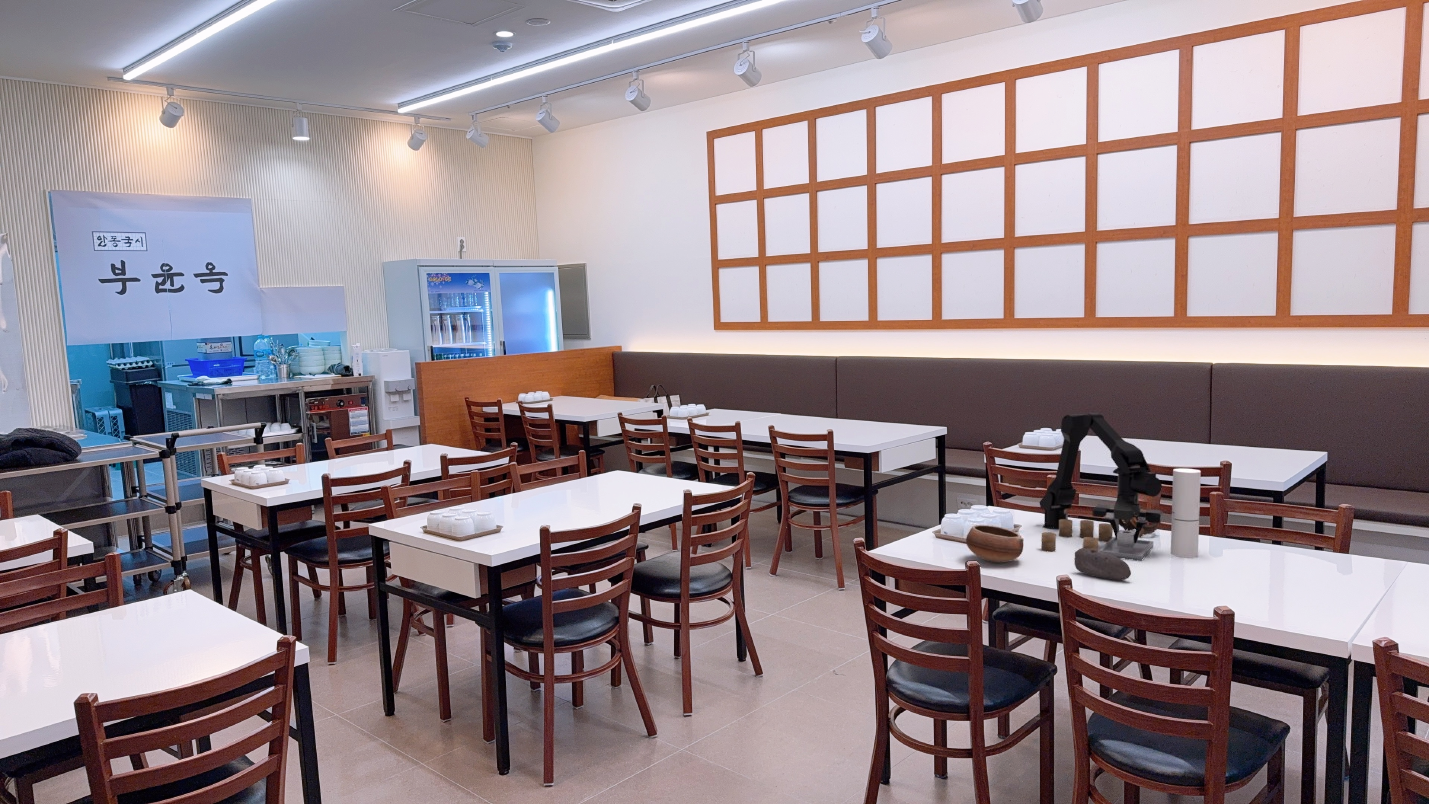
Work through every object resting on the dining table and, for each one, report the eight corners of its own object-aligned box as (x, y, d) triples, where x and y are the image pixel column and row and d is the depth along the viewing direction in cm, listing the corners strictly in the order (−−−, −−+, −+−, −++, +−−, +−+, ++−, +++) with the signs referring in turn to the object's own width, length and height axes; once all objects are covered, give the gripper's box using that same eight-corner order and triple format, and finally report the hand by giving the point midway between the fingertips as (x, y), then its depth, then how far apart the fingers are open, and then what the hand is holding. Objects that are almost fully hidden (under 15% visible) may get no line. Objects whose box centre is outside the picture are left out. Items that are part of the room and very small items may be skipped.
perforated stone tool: (1135, 581, 246) (1135, 556, 246) (1125, 585, 243) (1125, 559, 242) (1082, 570, 258) (1082, 545, 257) (1072, 573, 255) (1072, 548, 254)
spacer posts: (1039, 550, 279) (1040, 534, 278) (1062, 532, 301) (1062, 517, 300) (1095, 557, 270) (1096, 540, 269) (1114, 538, 292) (1115, 523, 291)
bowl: (1030, 568, 260) (1030, 533, 259) (973, 569, 261) (974, 534, 260) (1013, 553, 276) (1013, 521, 275) (960, 554, 276) (960, 521, 275)
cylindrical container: (1191, 551, 275) (1194, 468, 272) (1202, 557, 268) (1204, 472, 265) (1166, 551, 276) (1169, 468, 273) (1176, 557, 268) (1178, 472, 266)
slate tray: (1098, 555, 272) (1098, 550, 272) (1112, 541, 288) (1112, 536, 288) (1141, 561, 265) (1141, 556, 265) (1153, 546, 282) (1153, 541, 281)
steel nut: (1116, 545, 276) (1117, 532, 276) (1119, 542, 280) (1120, 529, 279) (1133, 547, 273) (1133, 534, 273) (1136, 544, 277) (1136, 531, 277)
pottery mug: (1153, 532, 301) (1161, 514, 296) (1150, 551, 294) (1158, 532, 289) (1114, 520, 305) (1121, 502, 300) (1111, 538, 298) (1118, 520, 293)
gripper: (1088, 492, 274) (1087, 543, 275) (1157, 498, 263) (1156, 552, 265) (1097, 485, 283) (1095, 535, 284) (1164, 491, 272) (1162, 543, 274)
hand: (1126, 541), depth 277 cm, fingers closed on steel nut, 4 cm apart
